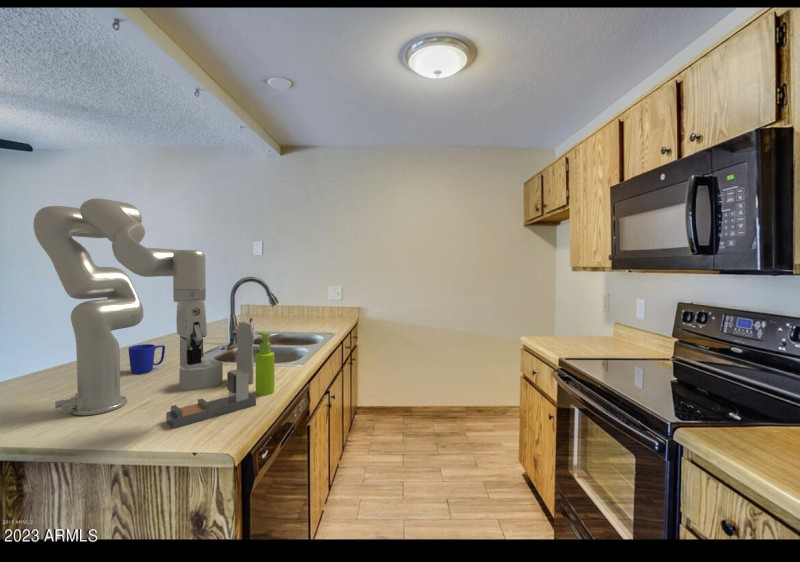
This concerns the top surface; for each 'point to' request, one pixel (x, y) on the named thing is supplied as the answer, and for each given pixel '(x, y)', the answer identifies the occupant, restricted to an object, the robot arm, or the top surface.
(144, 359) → the mug
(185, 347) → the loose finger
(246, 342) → the grey tall slab
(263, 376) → the soap dispenser
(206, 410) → the rail
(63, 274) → the robot arm
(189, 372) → the lumpy-topped squat cylinder
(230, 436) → the top surface
